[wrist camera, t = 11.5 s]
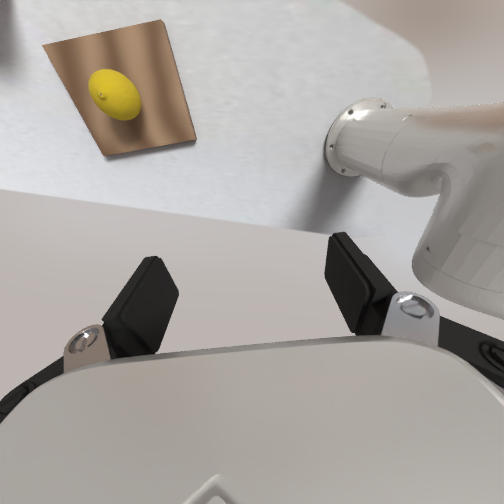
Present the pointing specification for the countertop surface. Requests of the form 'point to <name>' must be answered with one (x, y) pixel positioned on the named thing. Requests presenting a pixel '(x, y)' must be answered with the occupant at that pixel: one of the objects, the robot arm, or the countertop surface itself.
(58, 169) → the countertop surface
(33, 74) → the countertop surface
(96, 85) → the lemon
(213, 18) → the countertop surface
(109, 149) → the cutting board
